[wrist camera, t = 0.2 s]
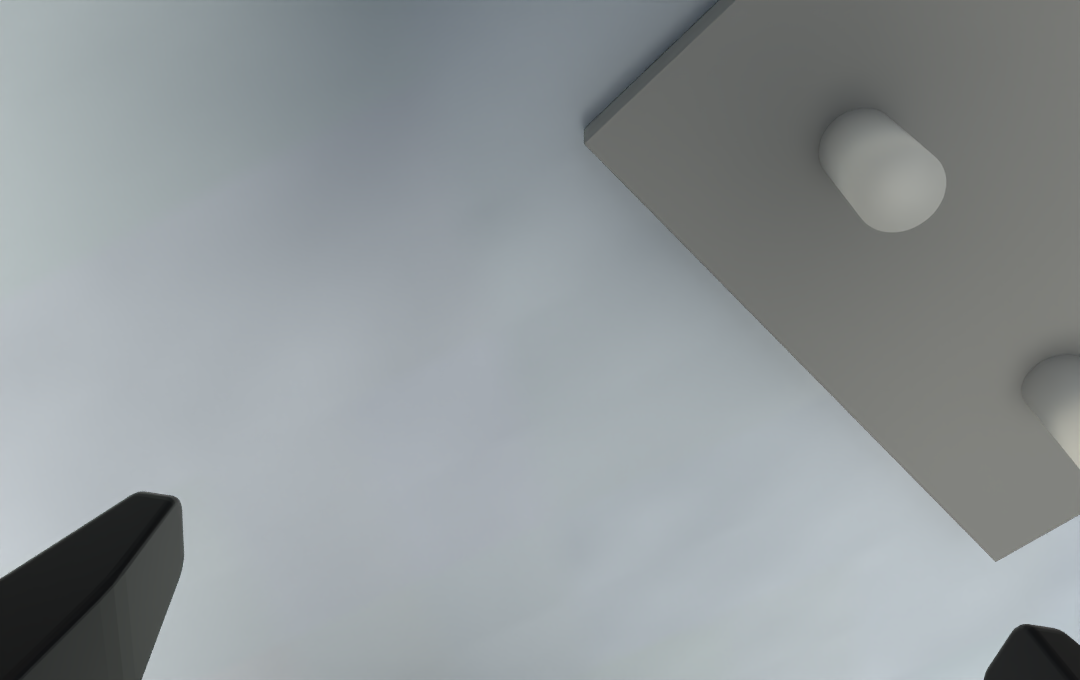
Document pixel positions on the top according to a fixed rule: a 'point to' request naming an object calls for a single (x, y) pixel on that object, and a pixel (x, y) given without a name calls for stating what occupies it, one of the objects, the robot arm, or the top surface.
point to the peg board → (882, 284)
